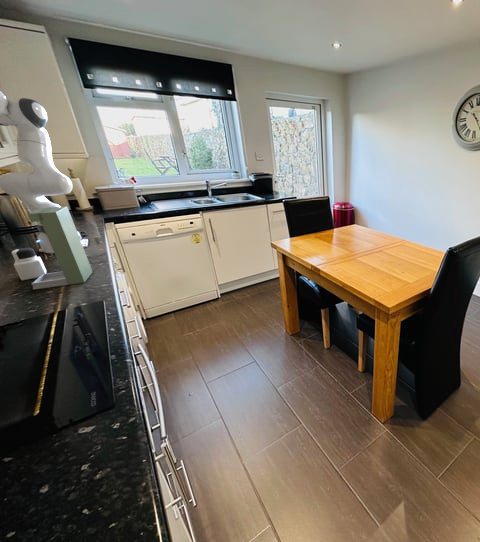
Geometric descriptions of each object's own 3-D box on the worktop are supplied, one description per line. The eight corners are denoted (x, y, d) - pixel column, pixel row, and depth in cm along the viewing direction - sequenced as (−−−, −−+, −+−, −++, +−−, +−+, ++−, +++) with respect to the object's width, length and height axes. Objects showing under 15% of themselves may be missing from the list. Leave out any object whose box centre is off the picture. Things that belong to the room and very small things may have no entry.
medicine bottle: (46, 271, 124) (35, 245, 120) (46, 276, 120) (34, 249, 115) (22, 275, 120) (9, 249, 115) (21, 280, 115) (7, 253, 110)
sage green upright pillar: (45, 278, 118) (13, 209, 106) (92, 271, 125) (67, 206, 113) (32, 289, 108) (-5, 215, 97) (84, 282, 115) (55, 212, 104)
